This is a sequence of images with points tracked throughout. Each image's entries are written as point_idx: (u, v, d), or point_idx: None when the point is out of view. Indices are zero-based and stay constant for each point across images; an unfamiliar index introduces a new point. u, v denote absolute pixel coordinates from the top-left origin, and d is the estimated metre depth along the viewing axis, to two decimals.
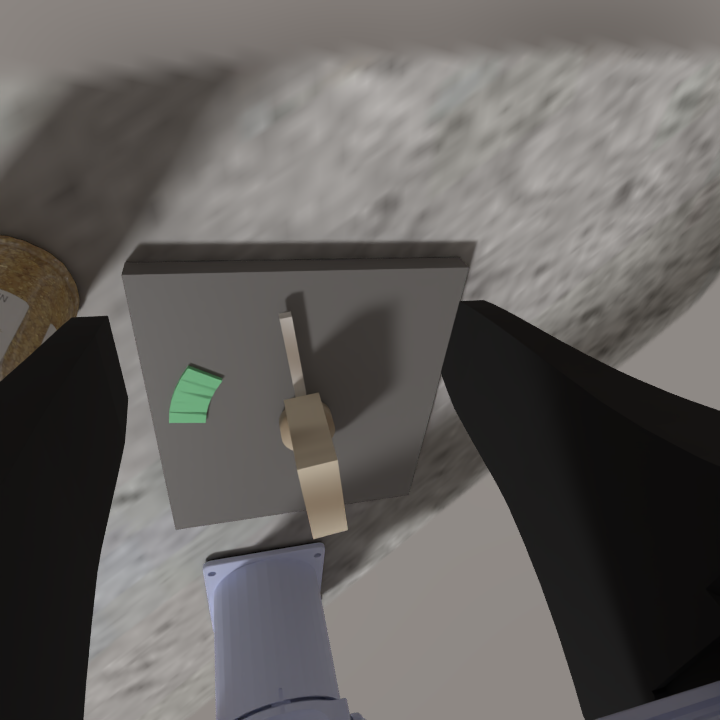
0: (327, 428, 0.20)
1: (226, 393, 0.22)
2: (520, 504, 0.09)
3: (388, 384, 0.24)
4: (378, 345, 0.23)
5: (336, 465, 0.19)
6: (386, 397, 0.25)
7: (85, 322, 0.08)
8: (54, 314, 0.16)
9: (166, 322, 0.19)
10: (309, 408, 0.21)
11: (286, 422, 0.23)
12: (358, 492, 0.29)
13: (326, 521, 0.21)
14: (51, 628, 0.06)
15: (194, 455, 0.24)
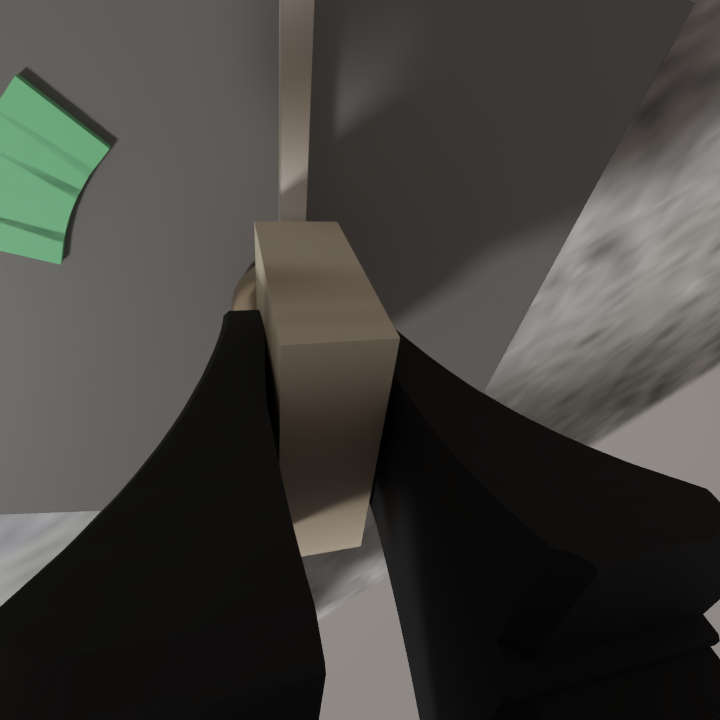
0: (363, 276, 0.08)
1: (119, 196, 0.09)
2: (384, 527, 0.08)
3: (458, 266, 0.12)
4: (468, 160, 0.11)
5: (391, 356, 0.07)
6: (445, 296, 0.13)
7: (246, 315, 0.09)
8: None
9: None
10: (315, 240, 0.09)
11: (250, 290, 0.10)
12: None
13: (319, 520, 0.09)
14: None
15: (33, 349, 0.11)
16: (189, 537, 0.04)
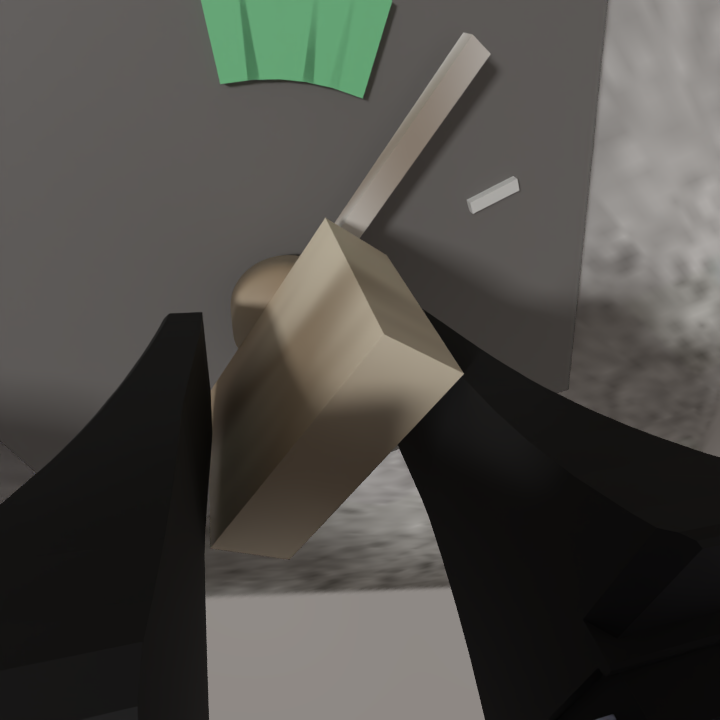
0: (420, 311, 0.09)
1: (316, 117, 0.10)
2: (438, 518, 0.09)
3: None
4: None
5: (447, 386, 0.07)
6: None
7: (185, 318, 0.09)
8: None
9: None
10: (377, 261, 0.09)
11: (278, 275, 0.10)
12: None
13: (278, 518, 0.08)
14: (195, 601, 0.06)
15: (67, 76, 0.08)
16: (45, 561, 0.04)
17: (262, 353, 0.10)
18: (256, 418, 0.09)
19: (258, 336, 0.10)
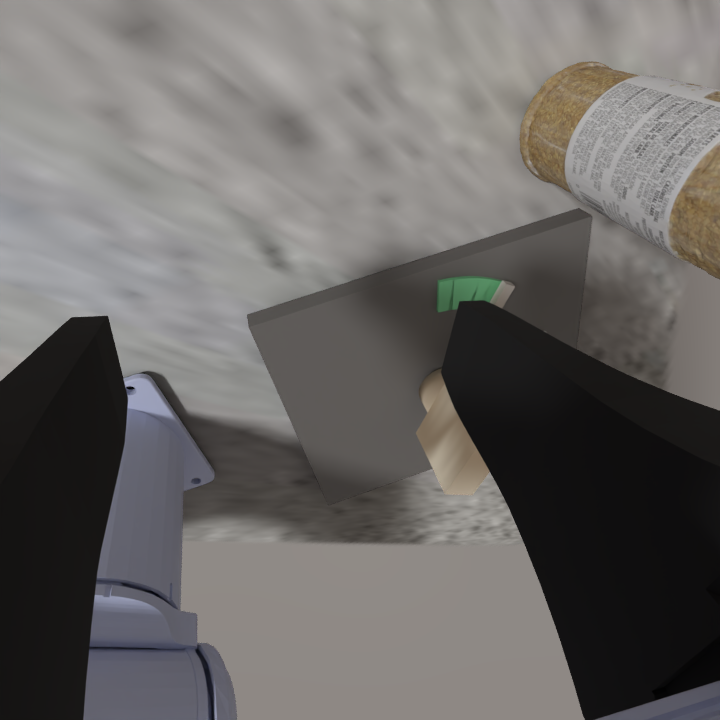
0: None
1: None
2: (520, 504, 0.09)
3: None
4: None
5: None
6: None
7: (85, 322, 0.08)
8: None
9: (546, 255, 0.22)
10: None
11: (441, 381, 0.24)
12: (330, 466, 0.28)
13: (467, 479, 0.22)
14: (51, 628, 0.06)
15: (386, 313, 0.22)
16: None
17: (444, 416, 0.24)
18: (450, 444, 0.23)
19: (438, 408, 0.24)
